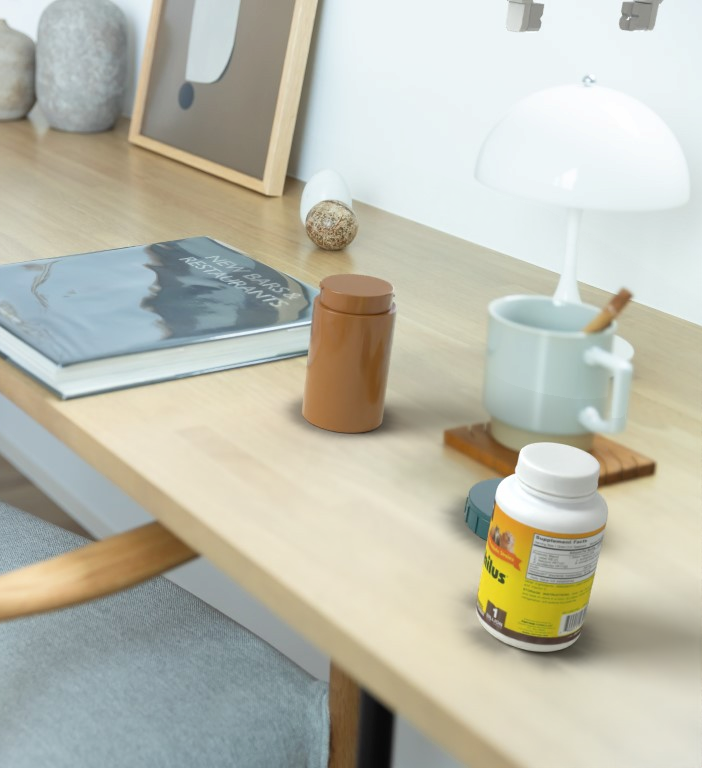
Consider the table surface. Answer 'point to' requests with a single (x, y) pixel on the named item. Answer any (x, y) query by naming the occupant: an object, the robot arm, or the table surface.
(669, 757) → the table surface
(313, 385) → the jar
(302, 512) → the table surface
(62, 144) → the table surface
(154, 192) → the table surface
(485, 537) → the lid
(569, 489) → the supplement bottle
